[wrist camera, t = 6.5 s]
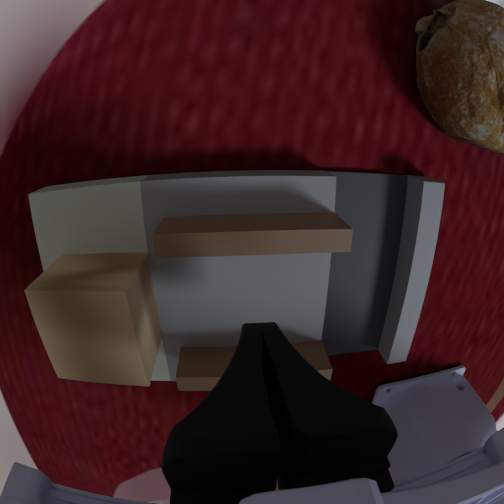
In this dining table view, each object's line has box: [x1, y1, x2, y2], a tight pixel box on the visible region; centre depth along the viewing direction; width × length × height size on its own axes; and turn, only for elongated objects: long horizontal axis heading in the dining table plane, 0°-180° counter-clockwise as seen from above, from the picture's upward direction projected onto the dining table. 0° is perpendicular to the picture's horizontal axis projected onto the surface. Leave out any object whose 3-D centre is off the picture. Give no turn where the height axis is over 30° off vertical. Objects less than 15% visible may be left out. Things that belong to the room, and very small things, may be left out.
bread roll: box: [415, 0, 504, 154], centre depth 12 cm, size 10×10×8 cm
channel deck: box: [28, 170, 445, 391], centre depth 16 cm, size 22×12×4 cm, turn 90°
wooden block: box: [24, 252, 162, 386], centre depth 14 cm, size 5×5×4 cm
